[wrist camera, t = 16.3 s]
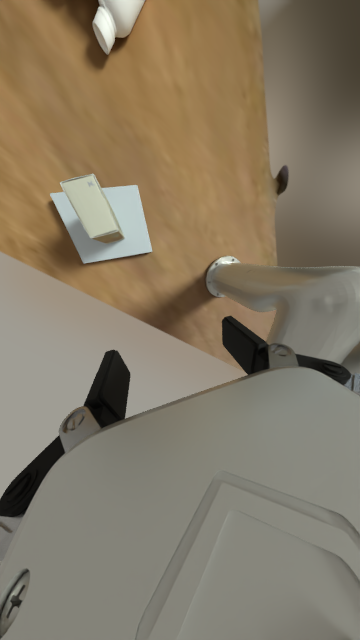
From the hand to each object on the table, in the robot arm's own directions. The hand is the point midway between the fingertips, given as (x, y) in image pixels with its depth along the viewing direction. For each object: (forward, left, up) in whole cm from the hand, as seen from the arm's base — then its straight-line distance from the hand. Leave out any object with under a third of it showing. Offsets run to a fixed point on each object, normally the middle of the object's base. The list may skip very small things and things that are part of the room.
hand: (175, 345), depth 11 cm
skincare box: (+6, -14, -28) cm, 31 cm away
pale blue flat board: (+6, -14, -31) cm, 34 cm away
